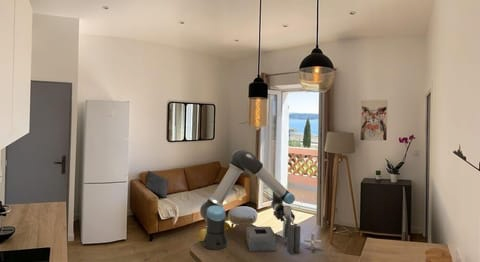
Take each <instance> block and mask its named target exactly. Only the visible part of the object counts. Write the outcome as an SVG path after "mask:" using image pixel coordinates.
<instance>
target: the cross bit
mask: <svg viewBox="0 0 480 262" xmlns="http://www.w3.org/2000/svg"><path fill="white" fill-rule="evenodd" d="M301 231H302V229H301V225H298V223H294V224H291V225H290V224H288V233H287V238H286V239H287V240H286V251H288V252H290V255H294V254H295V253H296V254H300V251H301Z"/></svg>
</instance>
